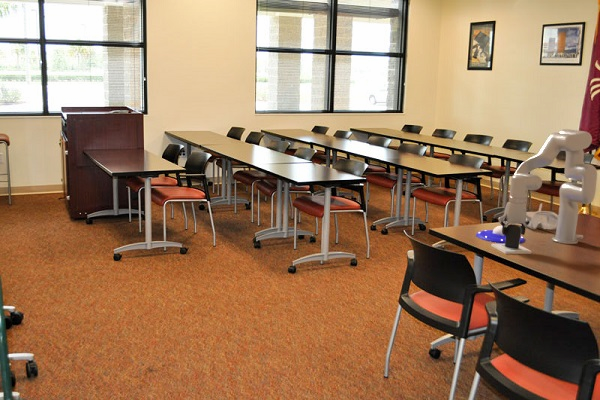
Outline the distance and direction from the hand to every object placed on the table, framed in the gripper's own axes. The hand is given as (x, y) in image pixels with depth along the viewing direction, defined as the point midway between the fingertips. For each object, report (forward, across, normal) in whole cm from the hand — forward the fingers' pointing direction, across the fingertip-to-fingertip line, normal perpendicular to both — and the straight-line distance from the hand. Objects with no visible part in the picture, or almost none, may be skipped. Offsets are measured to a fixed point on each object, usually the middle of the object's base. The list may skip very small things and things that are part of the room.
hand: (513, 234), depth 320 cm
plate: (+8, 0, 0) cm, 8 cm away
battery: (+7, 0, 0) cm, 7 cm away
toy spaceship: (+9, -6, -23) cm, 25 cm away
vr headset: (+9, -42, -42) cm, 60 cm away
